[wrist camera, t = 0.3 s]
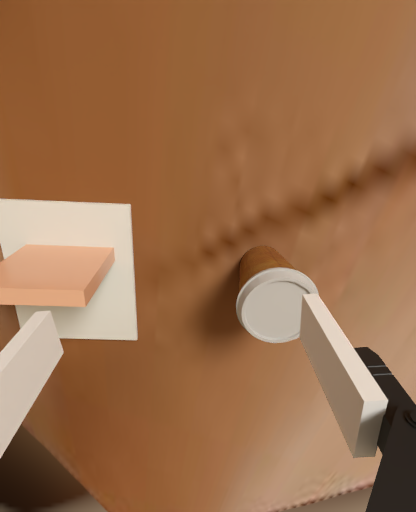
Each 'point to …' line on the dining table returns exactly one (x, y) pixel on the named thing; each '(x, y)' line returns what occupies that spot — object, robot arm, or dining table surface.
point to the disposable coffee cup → (271, 295)
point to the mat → (79, 234)
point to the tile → (53, 275)
